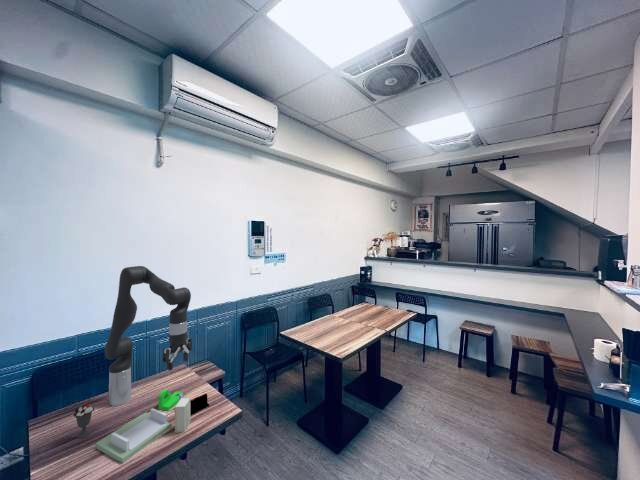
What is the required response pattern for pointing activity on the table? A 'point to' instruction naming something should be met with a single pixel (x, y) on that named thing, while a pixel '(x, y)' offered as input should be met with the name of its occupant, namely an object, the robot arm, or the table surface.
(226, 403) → the table surface
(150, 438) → the pale green fixture
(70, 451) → the table surface
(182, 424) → the skincare box
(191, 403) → the miniature room corner
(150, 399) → the table surface
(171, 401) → the mechanical part
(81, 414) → the sundae
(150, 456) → the table surface
